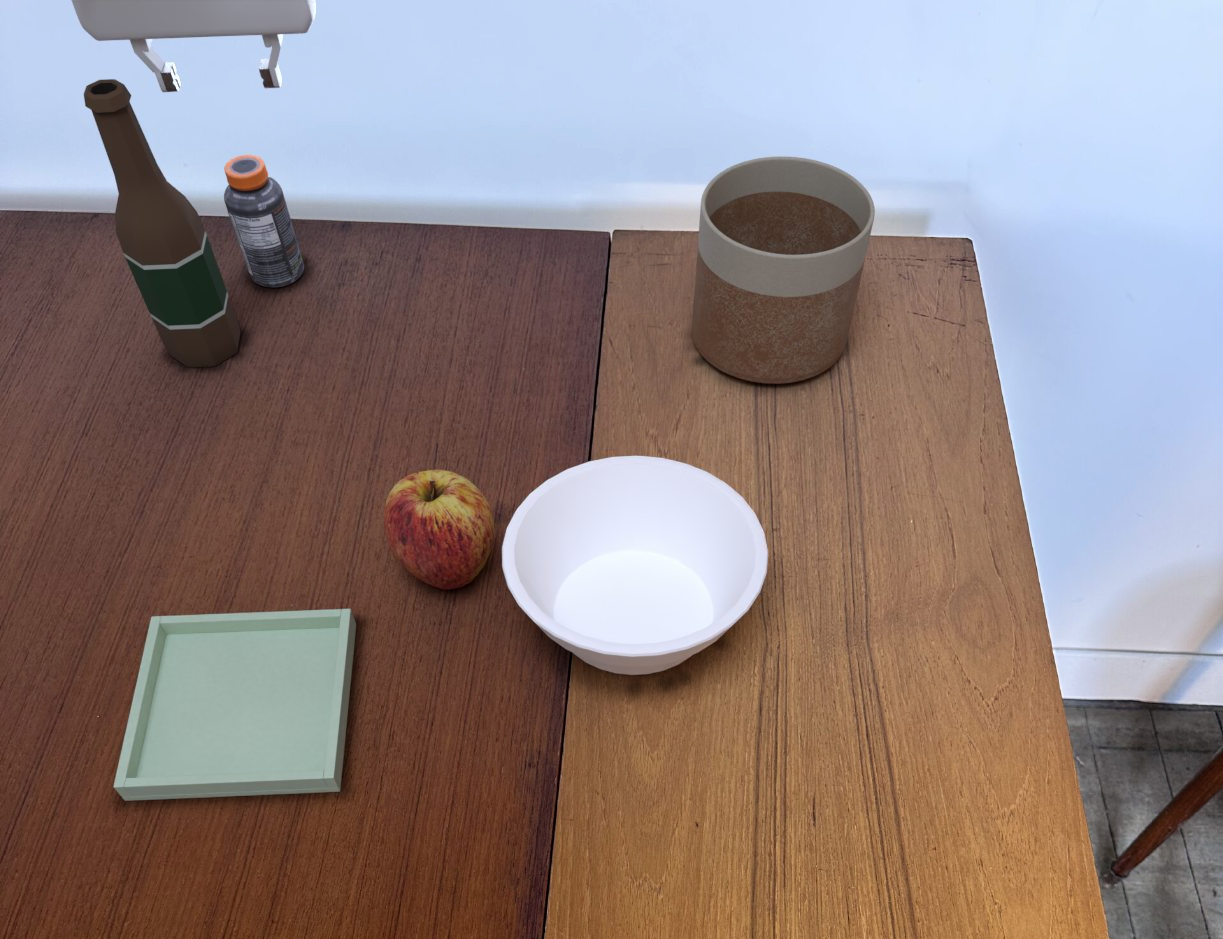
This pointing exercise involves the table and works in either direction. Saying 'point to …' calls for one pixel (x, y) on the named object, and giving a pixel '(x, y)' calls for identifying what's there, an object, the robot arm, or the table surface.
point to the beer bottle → (163, 240)
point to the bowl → (634, 561)
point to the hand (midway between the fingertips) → (222, 87)
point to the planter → (779, 267)
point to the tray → (239, 706)
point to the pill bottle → (262, 223)
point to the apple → (439, 527)
